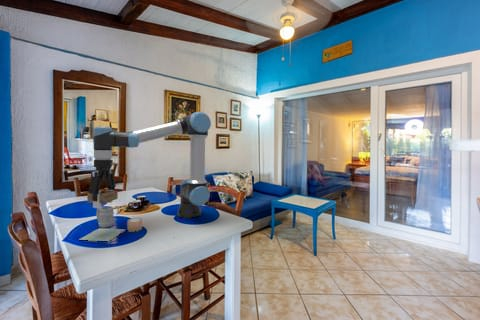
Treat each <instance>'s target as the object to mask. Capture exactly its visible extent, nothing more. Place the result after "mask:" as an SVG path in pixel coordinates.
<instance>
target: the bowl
mask: <svg viewBox="0 0 480 320" xmlns="http://www.w3.org/2000/svg"><path fill="white" fill-rule="evenodd" d="M126 226H127V230H128V231H127V232H129V233H134V232H135V231H136V232H139V230H140V231H142V230H143V219H142V218H141V217H133V218H129V219H128V220H127V225H126Z"/></svg>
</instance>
